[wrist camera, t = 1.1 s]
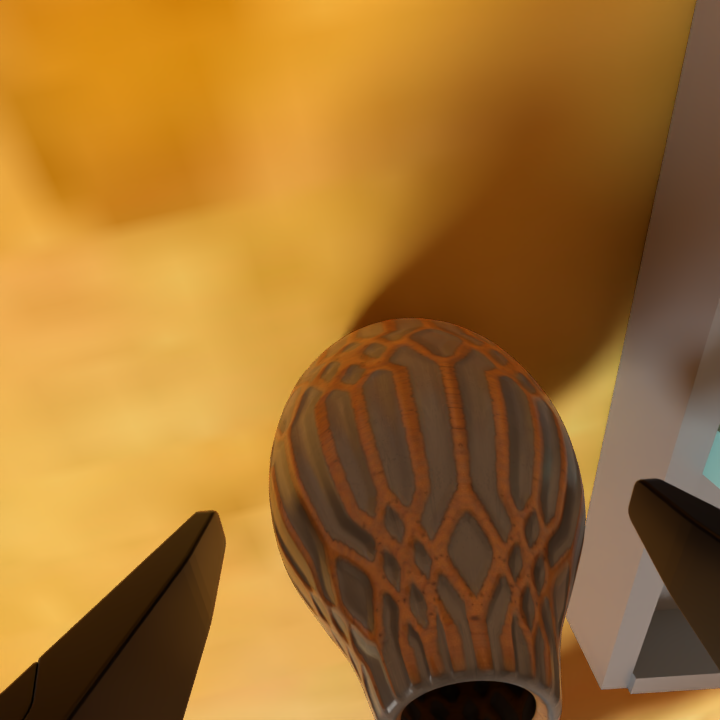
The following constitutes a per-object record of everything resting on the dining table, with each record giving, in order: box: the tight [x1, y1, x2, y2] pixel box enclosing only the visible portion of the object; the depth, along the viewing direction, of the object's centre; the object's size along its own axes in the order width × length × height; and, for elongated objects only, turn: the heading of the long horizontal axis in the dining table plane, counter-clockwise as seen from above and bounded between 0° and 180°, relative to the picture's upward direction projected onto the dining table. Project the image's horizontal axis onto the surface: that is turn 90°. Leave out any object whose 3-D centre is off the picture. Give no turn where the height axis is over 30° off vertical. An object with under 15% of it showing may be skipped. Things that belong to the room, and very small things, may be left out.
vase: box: [269, 318, 586, 720], centre depth 9 cm, size 7×7×9 cm
